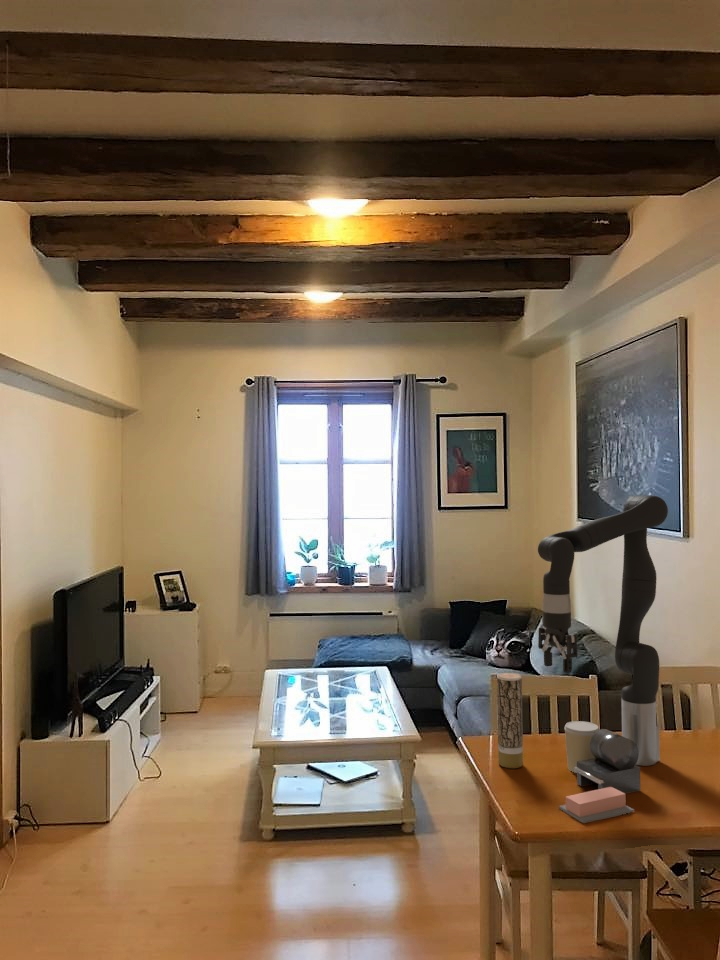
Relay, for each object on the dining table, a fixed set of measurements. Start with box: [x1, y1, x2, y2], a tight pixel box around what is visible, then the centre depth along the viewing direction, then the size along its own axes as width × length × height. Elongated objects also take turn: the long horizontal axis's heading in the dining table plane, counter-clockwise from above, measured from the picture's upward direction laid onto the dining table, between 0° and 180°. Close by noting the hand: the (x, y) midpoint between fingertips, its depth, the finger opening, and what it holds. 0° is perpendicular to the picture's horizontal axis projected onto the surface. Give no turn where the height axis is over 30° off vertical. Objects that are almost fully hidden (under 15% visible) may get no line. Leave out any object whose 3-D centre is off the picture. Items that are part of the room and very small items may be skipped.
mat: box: [558, 804, 635, 824], centre depth 187 cm, size 15×9×1 cm, turn 112°
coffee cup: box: [564, 720, 600, 774], centre depth 214 cm, size 9×9×12 cm
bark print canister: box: [496, 672, 524, 769], centre depth 218 cm, size 7×7×25 cm
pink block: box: [565, 787, 627, 817], centre depth 187 cm, size 14×5×3 cm, turn 114°
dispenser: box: [574, 728, 641, 795], centre depth 201 cm, size 13×10×14 cm
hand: (557, 669), depth 212 cm, fingers open, 8 cm apart
